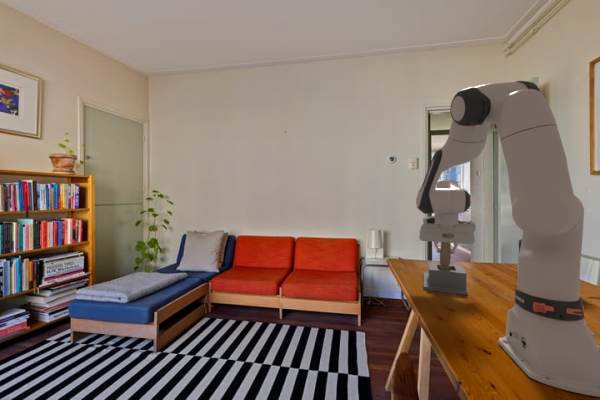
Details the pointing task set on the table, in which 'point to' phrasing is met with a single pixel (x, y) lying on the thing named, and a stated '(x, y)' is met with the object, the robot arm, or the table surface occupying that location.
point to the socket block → (446, 279)
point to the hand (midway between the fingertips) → (445, 253)
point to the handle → (445, 252)
